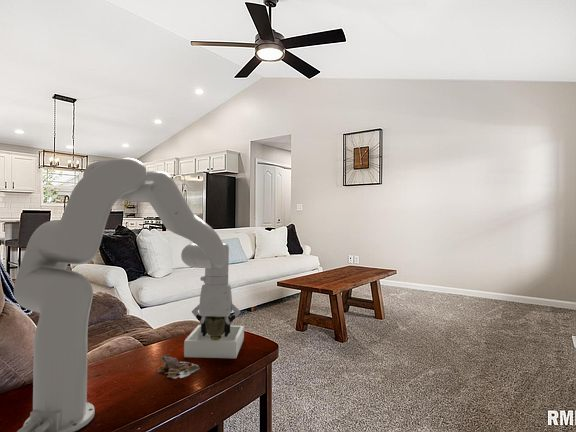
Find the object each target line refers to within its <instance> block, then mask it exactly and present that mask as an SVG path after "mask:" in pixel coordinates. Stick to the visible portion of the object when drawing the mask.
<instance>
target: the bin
mask: <svg viewBox="0 0 576 432" xmlns="http://www.w3.org/2000/svg"><path fill="white" fill-rule="evenodd" d="M244 340H245V325H230V333H228V336H227V337H225V332H224V334H222V335H221V339H220V340H211V339H210V335H208V333H207V334H206V335H205V336H203V333H201V324H198V325H197V326H196V327H195V328H194V329H193V330H192V331H191V333H190V334H189V335H188V336H187V337H186V338H185V340H184V341H183V342H184V343H183V358H199V359H200V358H201V359H202V358H203V359H204V358H206V359H237V357H238V355H239V353H240V350H241V348H242V345H243V343H244Z"/></svg>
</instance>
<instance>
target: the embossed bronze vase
mask: <svg viewBox="0 0 576 432" xmlns="http://www.w3.org/2000/svg"><path fill="white" fill-rule="evenodd" d="M225 324H226V318H224V317H206V318H205V326H206V331H207V333H208V335H210V339H211V340H220V339H221V335H222V334H224V332H225Z"/></svg>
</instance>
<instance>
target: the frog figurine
mask: <svg viewBox="0 0 576 432" xmlns="http://www.w3.org/2000/svg"><path fill="white" fill-rule="evenodd" d="M160 359H161V360H160V361H161V362H162V363H163V365H162V366H160V367H159V368H158V369H157V372H158V373H163V372H164V373H165V372H166V369H168V371H167V372H166V374H168V375H167V378H171V379H177V378H180V379H182V378H186V377H188V376H191V374H193V373H196V372H198V371H199V370H200V369H201V368H200V366H199V365H198V364H195V363H193V362H190V361H179V360H178V359H177V357H172V356H171V355H170V354H165V355H162V356H161V358H160ZM189 364H191V365H190V366H189ZM165 368H166V369H165ZM177 374H178V375H177Z"/></svg>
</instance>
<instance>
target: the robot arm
mask: <svg viewBox="0 0 576 432" xmlns="http://www.w3.org/2000/svg"><path fill="white" fill-rule="evenodd" d="M118 200H121V201H127V202H133V203H149V204H150V205H151V207H152V209H153V210H154V211H155V213H156V215H157V217H158V218H159V219H160V221H161V223H162V224H163V226H164V228H166V229H167V230H168V231H169V232H172V233H173V234H176V235H178V236H179V237H182V238H185V239H187V240H188V241H191V243H189V244H187V245H186V246H185V247H183V248H182V251H181V253H180V255H181V261H182V262H183V264H185V265H186V266H187V267H192V268H199V269H204V275H203V276H200V281H201V282H203V284H202V285H201V290H200V295H199V304H198V305H197V306H196V307H195V308H193V310H191V313H192V314H193V316H194V317H195V319H197V320H198V322H199V323H200V325H201V333H203V336H205V335H206V334H207V331H206V326H205V318H206V317H224V318H226V324H225V337H227V336H228V333H230V326H231V323H232V322H234V320H235V319H236V318H237V317H238V316H239V315H240V314H241V310H240V309H239V308H237V306H236V305H234V303H233V300H232V299H233V297H232V295H233V293H232V287H231V284H230V283H229V267H230V266H229V265H230V264H229V260H230V259H229V255H230V249H229V244H228V243H226V242H223V241H222V240H221V238H220V236H219V234H218V233H217V232H216V231H215V229H214V228H213V227H212V226H211V225H209V224H208V223H207V222H206V221H204V220H203V219H202V218H200V217H199V216H197V215H196V214H195V213H194V212H193V211H192V209H191V208H190V206H189V204H188V203H187V201H186V199H185V198H184V196H183V194H182V192H181V191H180V189H179V186H178V185H177V183H176V182H175V180H174V179H173V177H172V176H171V174H169V173H168V172H166V171H164V170H163V171H161V170H150V171H147V167H146V166H145V164H144V163H143V162H141V161H140V160H138V159H135V158H132V157H121V158H114V159H113V158H112V159H106V160H98V161H93V162H92V163H90V164H88V165H87V167H85V169H84V171H83V174H82V177H81V179H80V180H79V181H78V182H77V184H76V185H75V186H74V187H73V190H72V192H71V193H70V196H69V198H68V200H67V203H66V206H65V208H64V210H63V213H62V216H61V217H60V219H54V220H48V221H46V222H44V223H42V224H40V225H39V226H38V227H37V228H36V229H34V232H33V233H32V234H31V235H30V238H29V240H28V242H27V245H26V247H25V250H24V254H23V256H22V259H21V263H20V265H19V268H18V272H17V275H16V277H15V280H14V285H13V296H14V299H15V301H16V302H17V304H18V305H19V306H20V307H22V308H24V309H26V310H28V311H30V312H31V311H32V312H36V313H39V318H38V322H37V324H36V327H35V331H34V336H33V348H32V350H33V366H32V368H33V369H32V370H33V371H32V372H33V374H32V377H33V379H32V386H33V387H32V411H30V413H29V414H30V415H29V417H28V418H27V419H26V420H25V421H24V423H23V425H22V427H21V428H19V429H18V430H17V431H16V432H77V431H79V430H81V429H82V428H84V427H85V426H87V425H88V424H89V423H90V422H91V421H92V420H93V418H94V417H95V414H96V413H95V409H96V408H95V406H94V405H93V404H92V403H90V402H89V401H88V399H87V398H88V396H87V395H88V393H87V392H88V336H89V335H88V332H89V331H88V328H89V319H90V318H89V317H90V312H91V307H92V303H93V299H94V290H93V285H92V284H91V282H90V280H89V279H88V278H87V277H86V276H85V275H83V274H81V273H79V272H77V271H73V270H70V269H67V268H68V265H83V264H87V263H89V262H91V261H93V260H94V259H95V257H96V256H97V254H98V252H99V250H100V248H101V247H100V246H101V244H102V240H103V236H104V232H105V228H106V225H107V223H108V218H109V216H110V214H111V211H112V208H113V206H114V205H115V204H116V202H117V201H118ZM232 312H234V313H233V314H232V315H231V313H232ZM230 315H231V316H230Z"/></svg>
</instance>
